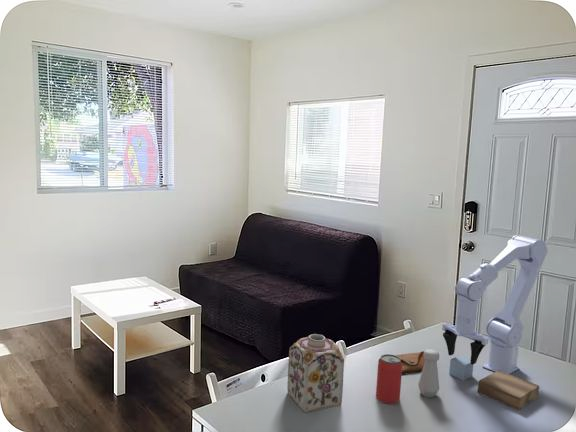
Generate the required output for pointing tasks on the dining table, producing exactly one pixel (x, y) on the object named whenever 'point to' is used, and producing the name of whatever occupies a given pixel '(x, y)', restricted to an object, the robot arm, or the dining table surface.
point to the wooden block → (508, 389)
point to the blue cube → (461, 367)
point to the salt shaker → (429, 374)
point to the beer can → (389, 379)
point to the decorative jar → (315, 373)
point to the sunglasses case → (412, 362)
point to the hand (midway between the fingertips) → (462, 358)
